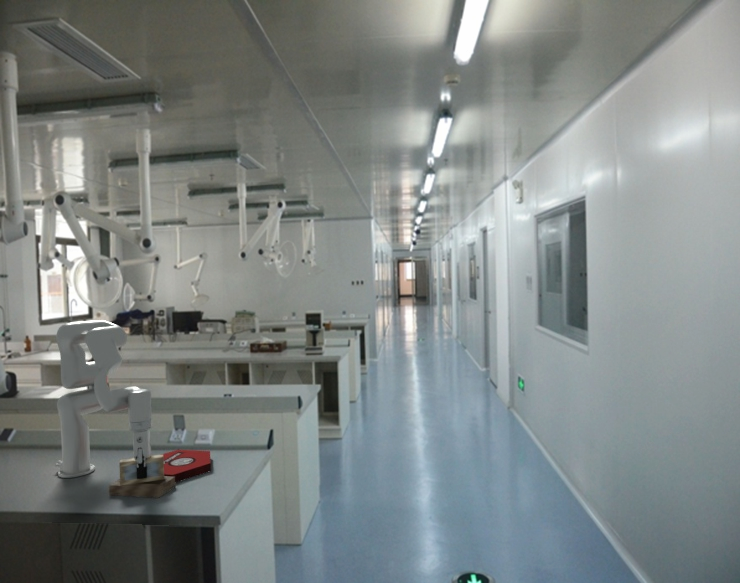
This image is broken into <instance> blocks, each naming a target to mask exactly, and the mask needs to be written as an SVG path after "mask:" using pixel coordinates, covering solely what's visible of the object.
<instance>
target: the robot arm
mask: <svg viewBox="0 0 740 583" xmlns="http://www.w3.org/2000/svg"><path fill="white" fill-rule="evenodd" d="M57 329H58V330H57V332H56V338H55V339H56V340H55V341H56V343H57V347H58V350H59V354H60V355H59V356H60V381H61V386H62V387H63V388H64V389H67V390H73V389H76V391H71V392H68V393H65V394H63V395H61V396H60V397H59V398H58V400H57V401H56V409H57V413H58V417H59V423H60V438H61V442H60V443H61V460H60V459H59V460H57V461H56V463H55V464H54V467H55V468H59V470H58V472H57V475H58V477H59V478H63V479H69V478H70V479H71V478H77V477H82V476H85V475H89V474H91V473H92V472H93V471H95V469H96V466H95V465H94V464H92V463H91V451H90V449H91V448H90V446H91V444H90V428H89V426H90V425H89V423H88V421H87V420H86V418H85V419H84V417H83V415H87V414H90V413H91V414H92V413H95V412H98V411H101V410H103V411H104V412H107V413H115V412H119V411H122V410H123V411H124V410H127V409H128V410H127V411H128V431H129V432H132V447H133V458H134V459H135V460H137V479H143V478H147V466H146V458H147V459H148V458H149V457H150V456H151V454H152V447H151V445H152V444H151V432H150V430H152V429H153V414H152V412H153V407H152V393H151V392H152V391H151V390H150V389H147V388H141V387H138V386H134V385H133V386H132V385H131V386H128V387H127V386H126V387H123V388H117V389H110V387H109V385H108V381H107V377H108V375H110V374H111V373H113V372H114V371H115V370H117V369H119V367H120V366H121V365H122V364H123V359H122V357H121V355H120V352H119V350H118V348H122V347H124V346H125V345H126V343H127V341H128V336H127V332H126V331H125V330H124V329H123V327H121V326H120V325H118V324H115V323H112V322H111V321H107V320H104V319H101V320H100V319H97V320H82V321H81V320H80V321H72V322H71V321H70V322H67V323H64V324H62V325H61V326H60V327H58V328H57ZM81 344H86V346H87V348H88V350H89V352H90V355H91V356H92V359H93V361H87V360H86V351H85V349H84V347H83V346H82V345H81ZM85 387H86V388H87V387H88V388H87V389H82V388H85ZM77 389H81V390H77ZM142 457H144V458H142ZM142 460H144V461H142Z"/></svg>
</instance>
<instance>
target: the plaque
mask: <svg viewBox="0 0 740 583" xmlns="http://www.w3.org/2000/svg"><path fill="white" fill-rule="evenodd" d="M160 455H163V459H164V476H170V477H175V482H176V483H179V482H181V480H182V481H185V480H188V479H191V478H193V477H197V475H198V476H201V475H204V474H206V472H207V473H209V472H208V471H210V472H211V471H212V463H211V462H212V461H211V451H210V450H197V449H196V450H193V449H192V450H191V449H175V450H172V451H169V452H165V453H161V454H160ZM203 473H204V474H203ZM200 474H201V475H200ZM184 479H185V480H184ZM178 481H179V482H178Z"/></svg>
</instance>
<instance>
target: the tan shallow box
mask: <svg viewBox="0 0 740 583" xmlns="http://www.w3.org/2000/svg"><path fill="white" fill-rule="evenodd" d="M173 487H174V488H175V487H176V483H175V477H170V476H164V479H163V480H156V481H149V482H142V483H134V484H127V485H120V478H118V479H117V480H115V481H114V482H112V483H111V484H109V485H108V488H109V490H108V491H109V492H108V493H109V496H117V495H122V496H121V497H134V496H142V497H141V498H150V497H153V499H154V497H155V499H156V498H157V499H160V498H161V497H163V496H164V495H166V494H167V493H168V492H170V491H171V490H172V489H174V488H173ZM170 489H171V490H170ZM166 492H167V493H166ZM163 494H164V495H163ZM159 497H160V498H159Z"/></svg>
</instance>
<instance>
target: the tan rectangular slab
mask: <svg viewBox="0 0 740 583" xmlns="http://www.w3.org/2000/svg"><path fill="white" fill-rule="evenodd" d="M142 458H144V457H142ZM142 461H144V460H142ZM146 466H147V478H143V479H137V460H135V459H134V457H132V458H125V459H124V458H123V459H120V460H119V479H120V485H127V484H134V483H142V482H149V481H156V480H163V479H164V459H163V455H161V454H156V455H150V457H149V458H148V459H147V458H146Z"/></svg>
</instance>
